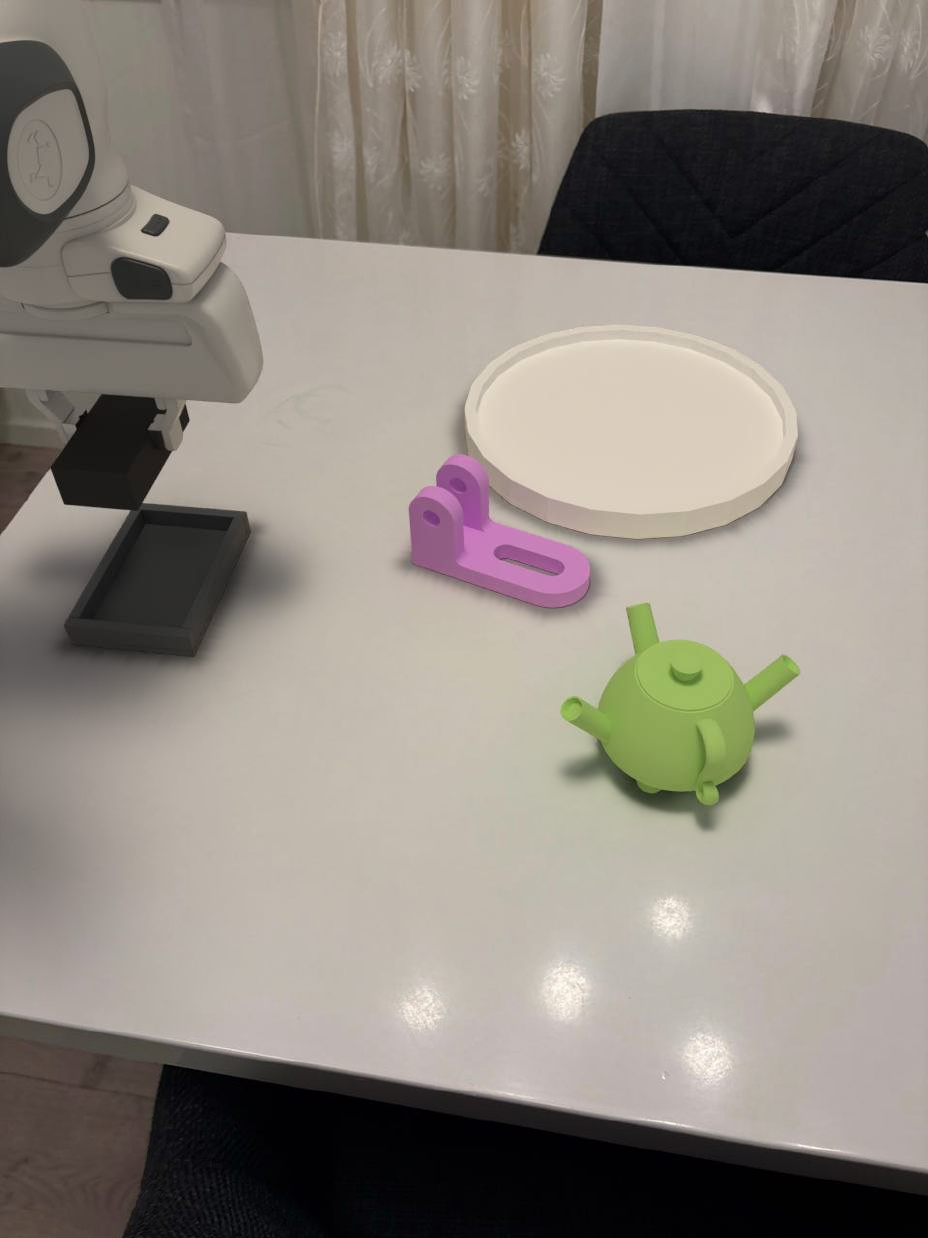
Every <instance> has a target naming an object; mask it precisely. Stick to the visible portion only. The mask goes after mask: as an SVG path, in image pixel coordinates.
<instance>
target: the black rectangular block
mask: <svg viewBox="0 0 928 1238" xmlns="http://www.w3.org/2000/svg"><path fill="white" fill-rule="evenodd" d="M166 411H167V409H165V410H160V409H158V408H157V405H156V402H155V398H150V397H136V396H122V395H107V394H99V396H98V398H97V400H96V401H95V402H94V404H93V405H92V407H91V408H90V410H89V411H88V412H87V413H88V414H87V416H86V417H85V419H84V420H83V421H82V423H81V425H80V426H79V427H78V429H77V430H76V431H75V433H74V434H73V435H72V437H71V438H70V440H69V441H68V443H66V444H65V445H64V447H63V448H62V450H61V451H60V453H59V454H58V456H57V457H56V458H55V460H54V461H53V462H52V464H51V465H50V470H51V471H50V472H51V474H52V476H53V480H54V482H55V484H56V487H57V490H58V492H59V495H60V498H61V500H62V503H63V505H65V506H73V507H86V508H99V509H109V510H121V511H131V510H132V511H138V510H139V508H140V506H141V505H142V503H144V501H145V500H146V498H147V496H148V495H149V493H150V491H151V489H152V487H153V485H154V484H155V482H156V480H157V479H158V477H159V475H160V474H161V472H162V470H163V468H164V467H165V465H166V463H167V461H168V460H169V458H170V456H171V454H172V453H173V451H169V450H160V449H154V447H153V444H152V442H153V441H152V440H151V437H150V435H149V433H148V428H149V427H150V425H151V424H152V423H154V418H155V417H156V415H157V414H166ZM179 420H180V424H181V428H182V432H183V433H184V432H185V430H186V428H187V426H188V425H189V423H190V420H191V419H190V414H189V412H188V408H187V402H186V403H185V405H184V407H183V410H182V412H181V415H180V416H179Z"/></svg>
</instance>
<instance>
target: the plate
mask: <svg viewBox="0 0 928 1238" xmlns="http://www.w3.org/2000/svg"><path fill="white" fill-rule="evenodd" d="M463 409H464V433H465V440H466V441H465V442H466V447H467V449H466V450H467V456H470V457H472V458H474V459H475V460H477V461H478V462H479V463H480V464H481V465H482V466H483V468H484V469H485V471H486V472H487V475H488V479H489V488H491V489H492V490H494V491H495V492H496V493H497V494H498V495H499V496H501V497H502V498H503V499H504V500H505V501H506V502H507V503H508V504H510V505H512V506H514V507H516V508H518V509H520V510H522V511H523V512H526V513H528V514H529V515H532V516H533V517H535V518H538V519H540V520H541V521H543V522H545V523H548V524H552V525H555V526H559V527H561V528H566V529H570V530H573V531H577V532H580V533H584V534H587V535H593V536H602V537H603V536H604V537H612V538H613V537H614V538H621V539H622V538H623V539H632V540H645V539H646V540H647V539H659V538H672V537H685V536H690V535H693V534H696V533H700V532H705V531H708V530H711V529H716V528H719V527H723V526H727V525H729V524H730V523H732V522H734V521H736V520H738V519H740V518H742V517H744V516H746V515H747V514H749V513H752V512H754V511H755V510H757V509H759V508H760V507H762V505H763V504H764V503H765V502H767V500H769V498H770V497H771V496H772V495H773V494H774V493H776V491H777V490H778V489H780V488H781V486H782V485H783V483H784V480H785V478H786V476H787V473H788V471H789V468H790V466H791V463H792V461H793V458H794V453H795V450H796V446H797V442H798V437H799V431H798V416H797V410H796V408H795V405H794V403H793V402H792V400H791V398H790V397H789V395H788V392H787V391H786V389H785V387H784V386H783V385H782V384H781V383H780V382H779V381H778V380H777V379H776V378H775V377H773V375H772V374H770V372H768V371H767V370H766V368H764V367H763V366H762V365H761V364H759V363H757V362H756V361H754V360H752V359H751V358H749V357H747V356H745V355H744V354H742V353H740V352H739V351H737V350H735V349H734V348H732V347H729V346H726V345H724V344H721V343H719V342H716V341H713V340H710V339H708V338H705V337H703V336H700V335H696V334H692V333H688V332H683V331H678V330H673V329H669V328H663V327H659V326H658V327H657V326H647V325H645V326H644V325H633V324H632V325H631V324H606V325H605V324H604V325H590V326H589V325H588V326H579V327H574V328H570V329H569V328H568V329H564V330H560V331H555V332H549V333H545V334H543V335H540V336H537V337H535V338H532V339H530V340H528V341H525V342H522V343H519V344H517V345H514V346H513V347H511V348H509V350H506V351H505V352H504V353H502V354H501V355H499V356H498V357H496V358H494V359H493V360H492V361H491V362H489V363H488V364H487V365H486V366H485V368H483V370H482V371H481V372H480V373H479V375H477V377H476V378H475V380H473V382H472V383H471V386H470V388H469V392H468V396H467V398H466V401H465V404H464V408H463Z"/></svg>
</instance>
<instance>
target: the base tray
mask: <svg viewBox="0 0 928 1238" xmlns="http://www.w3.org/2000/svg"><path fill="white" fill-rule="evenodd" d="M251 531H252V530H251V526H250V521H249V516H248V512H247V511H246V510H232V509H223V508H222V509H221V508H209V507H197V506H186V505H185V506H184V505H173V504H160V503H150V502H149V503H148V502H143V503H142V505H141V506H140V508H139V510H138V511H132V510H129V512H128V514H127V516H126V518H125V519H124V520H123V523H122V524H121V525H120V528H119V530H117V533H116V535H115V536H114V538H113V540H112V541H111V542H110V545H109V547H108V548H107V550H106V552H105V553H104V555H103V556H102V559H100V562H99V564H98V565H97V567H96V569H95V570H94V572H93V573H92V576H91V577H90V578H89V581H88V582H87V584H86V585H85V587H84V589H83V591H82V592H81V594H80V596H79V598H78V600H77V601H76V603H75V605H74V606H73V608H72V609H71V611H70V613H69V615H68V617H67V618H66V619H65V621H64V623H63V627H64V630H65V631H66V634H67V636H68V639H69V643H70V644H71V645H73V646H74V645H75V646H85V647H93V648H104V649H115V650H124V651H125V650H126V651H136V652H145V653H154V654H164V655H165V654H166V655H175V656H185V657H192V658H193V657H195V656H196V653H197V651H198V649H199V647H200V644H201V643H202V641H203V638H204V636H205V634H206V632H207V629H208V627H209V625H210V623H211V620H212V618H213V616H214V614H215V612H216V609H217V607H218V605H219V602H220V600H221V598H222V596H223V593H224V592H225V589H226V587H227V585H228V582H229V580H230V578H231V575H232V574H233V571H234V569H235V567H236V565H237V562H238V560H239V558H240V556H241V554H242V551H243V550H244V547H245V545H246V543H247V540H248V538H249V535H250V533H251Z"/></svg>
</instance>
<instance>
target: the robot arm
mask: <svg viewBox="0 0 928 1238" xmlns="http://www.w3.org/2000/svg"><path fill="white" fill-rule="evenodd" d="M103 73H104V72H103V69H102V66H101V61H100V59H99V54H98V51H97V48H96V44H95V41H94V37H93V34H92V31H91V28H90V23H89V21H88V18H87V15H86V12H85V9H84V6H83V3H82V0H0V388H9V389H23V390H24V391H25V394H26V396H27V400H28V401H29V402H30V403H31V404H32V405H33V406H34V407H35V408H36V409H37V410H38V411H40V413H42V414H43V415H44V416H45V417H46V419H48V420H49V421H50V422H51V423H54V426H55V429H56V433H57V434H58V437H59V440H60V442H61V443H66V444H67V443H68V441H69V440H70V438H71V437H72V435H73V434H74V433H75V431H76V430H77V429H78V427H79V426H80V425H81V423H82V421H83V420H84V419H85V417H86V416H87V414H88V413H89V412H88V410H87V408H81V407H79V408H78V407H75V406H74V404H73V403H71V401H70V400H69V399H68V398H67V397H66V395H65V394H64V393H63V392H65V393H66V392H67V393H79V394H80V393H82V394H94V395H101V394H107V395H122V396H136V397H150V398H155V402H156V405H157V408H158V409H160V410H165V409H167V411H166V414H157V415H156V417H155V418H154V423H152V424H151V425H150V427H149V428H148V433H149V435H150V437H151V440H152V441H153V442H152V444H153V447H154V449H160V450H169V451H172V452H177V451H178V450H179V448H180V446H181V444H182V442H183V439H184V432H182V428H181V424H180V420H179V416H180V415H181V412H182V410H183V407H184V405H185V403H186V404H187V401H191V402H208V403H219V404H220V403H221V404H222V403H223V404H240V403H243V401H245V399H246V398H247V397H248V396H249V395H250V394H251V392H252V391H253V389H255V386H256V385H257V383H258V381H259V379H260V377H261V375H262V372H263V369H264V354H263V349H262V344H261V343H262V342H261V337H260V333H259V330H258V325H257V322H256V319H255V316H254V312H253V308H252V305H251V303H250V299H249V296H248V293H247V291H246V289H245V286H244V284H243V281H241V279H240V277H239V276H238V275H237V273H236V272H235V271H234V270H233V269H232V268H231V267H230V266H228V265H227V264H225V263H224V262H222V260H223V256H224V255H225V251H226V249H227V243H228V242H227V235H226V230H225V228H224V227H225V226H224V225H223V224H222V222H221V221H220V220H218V219H217V218H215V217H214V216H211V215H209V214H205V213H204V212H200V211H198V210H194V209H192V208H189V207H186V206H183V205H180V204H178V203H175V202H172V201H170V200H167V199H164V198H162V197H161V196H158V195H155V194H152V193H150V192H148V191H147V190H144V189H142V188H139V187H138V186H136V185H133V184H131V181H130V177H129V173H128V171H127V168H126V165H125V163H124V161H123V159H122V157H121V155H120V154H119V152H118V150H117V148H116V146H115V144H114V142H113V139H112V135H111V131H110V128H109V120H108V119H109V118H108V108H109V98H108V97H109V96H108V90H107V86H106V85H107V84H106V82H105V81H106V80H105V78H104V74H103Z"/></svg>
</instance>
